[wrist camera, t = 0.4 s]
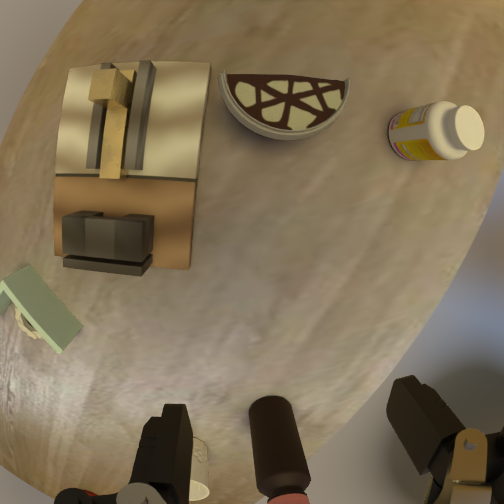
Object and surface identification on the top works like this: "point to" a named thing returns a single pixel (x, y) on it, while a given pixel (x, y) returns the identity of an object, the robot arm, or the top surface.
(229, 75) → the food container
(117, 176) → the wooden t-shaped block
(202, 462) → the white cup
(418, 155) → the supplement bottle
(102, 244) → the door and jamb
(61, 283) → the top surface
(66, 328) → the l-shaped corner panel
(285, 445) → the vinegar
